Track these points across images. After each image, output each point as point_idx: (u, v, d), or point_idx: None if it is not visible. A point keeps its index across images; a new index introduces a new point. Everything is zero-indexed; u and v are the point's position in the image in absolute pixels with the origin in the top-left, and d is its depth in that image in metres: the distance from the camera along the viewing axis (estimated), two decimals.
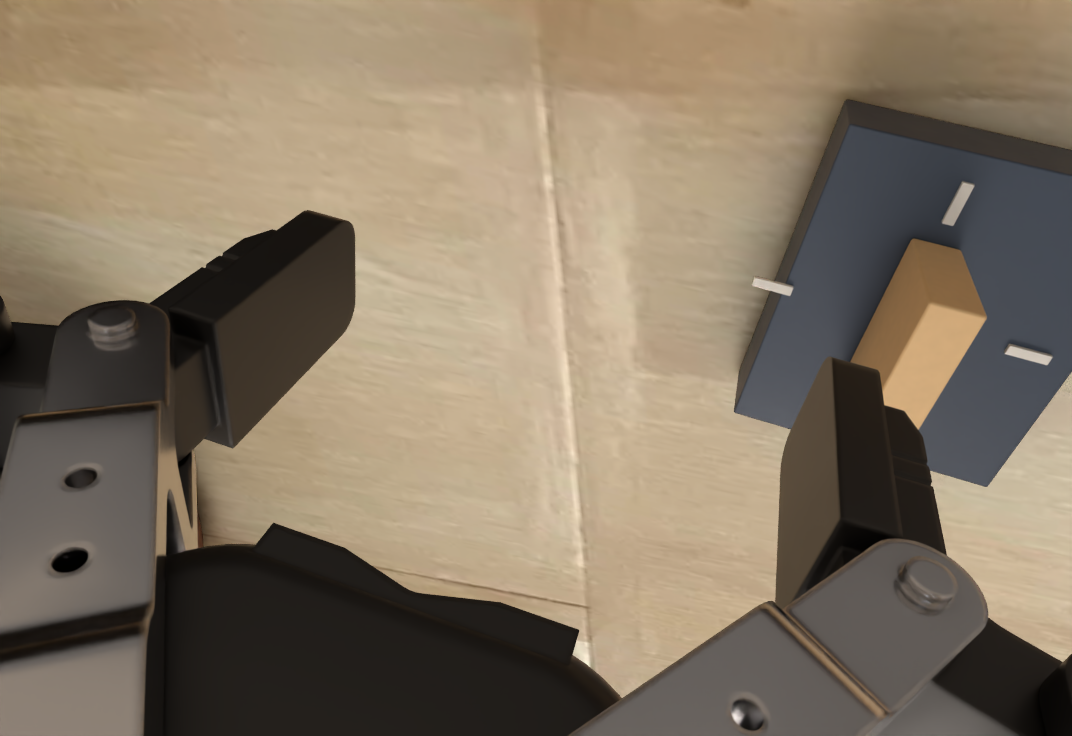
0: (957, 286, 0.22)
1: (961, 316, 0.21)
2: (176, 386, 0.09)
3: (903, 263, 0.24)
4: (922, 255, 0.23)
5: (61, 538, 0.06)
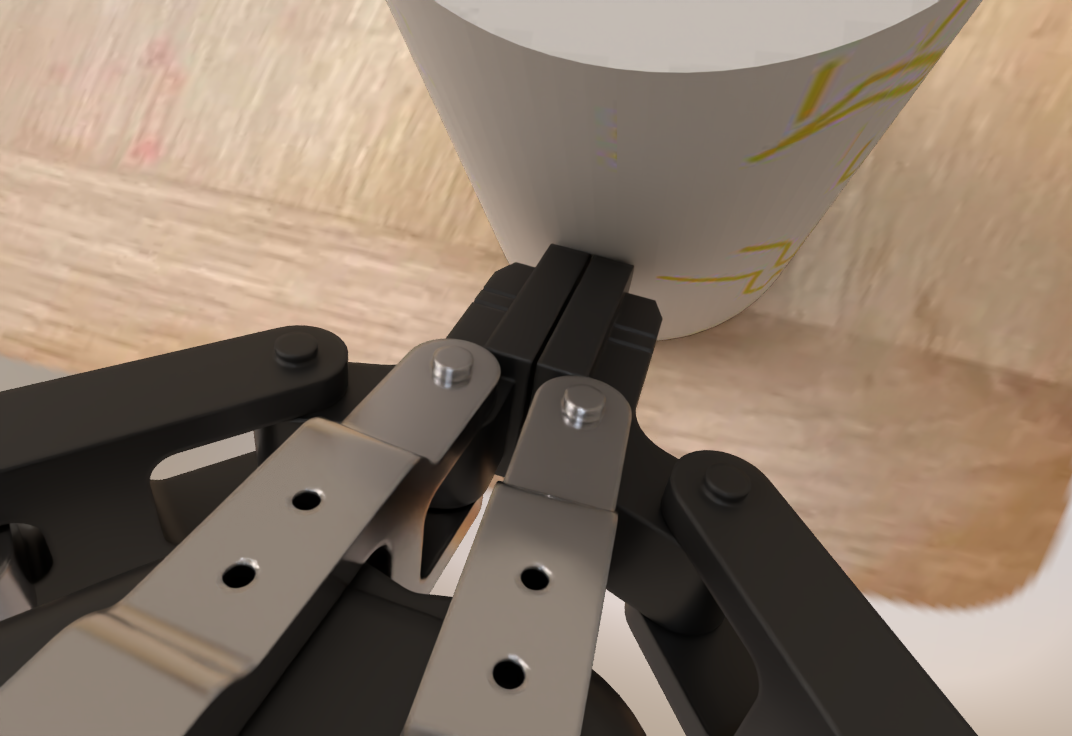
0: None
1: None
2: (496, 423, 0.10)
3: None
4: None
5: (250, 550, 0.06)
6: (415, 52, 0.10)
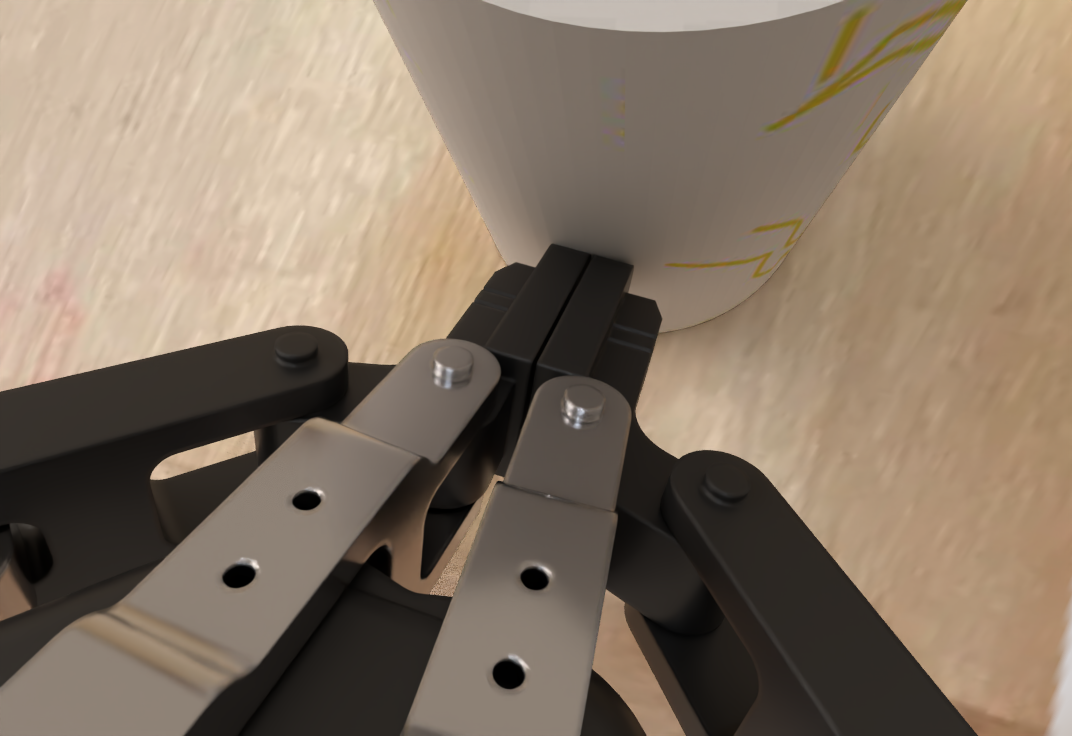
0: None
1: None
2: (497, 424, 0.10)
3: None
4: None
5: (250, 550, 0.06)
6: (399, 36, 0.09)
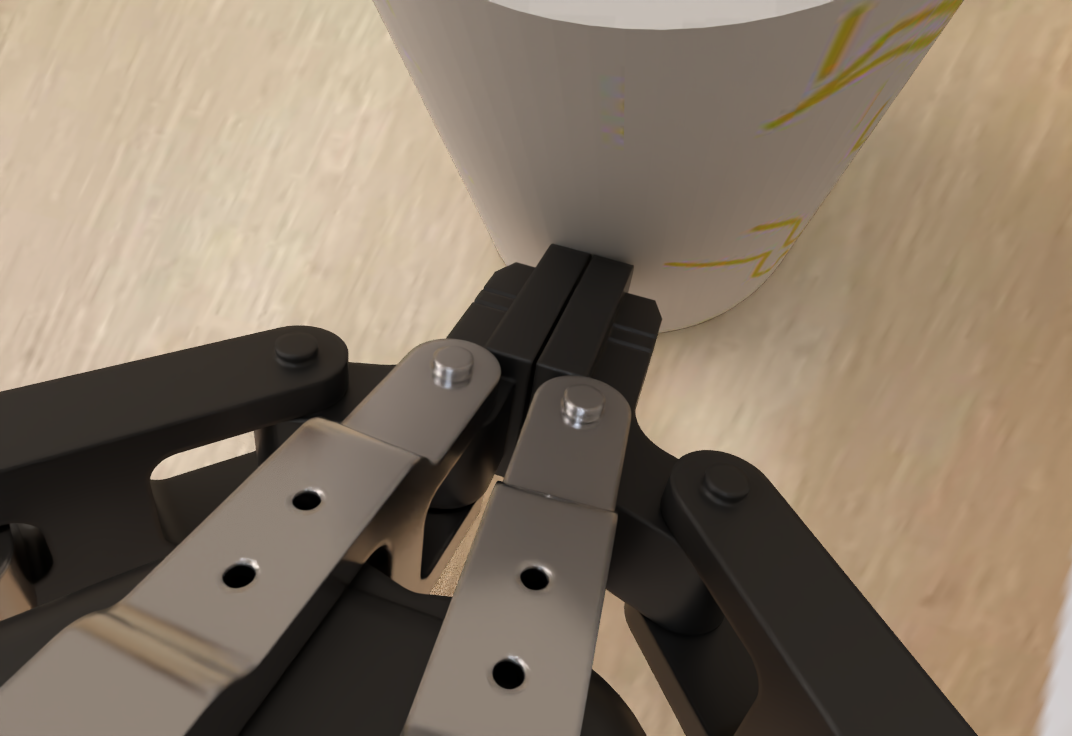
0: None
1: None
2: (497, 423, 0.10)
3: None
4: None
5: (250, 550, 0.06)
6: (399, 36, 0.09)
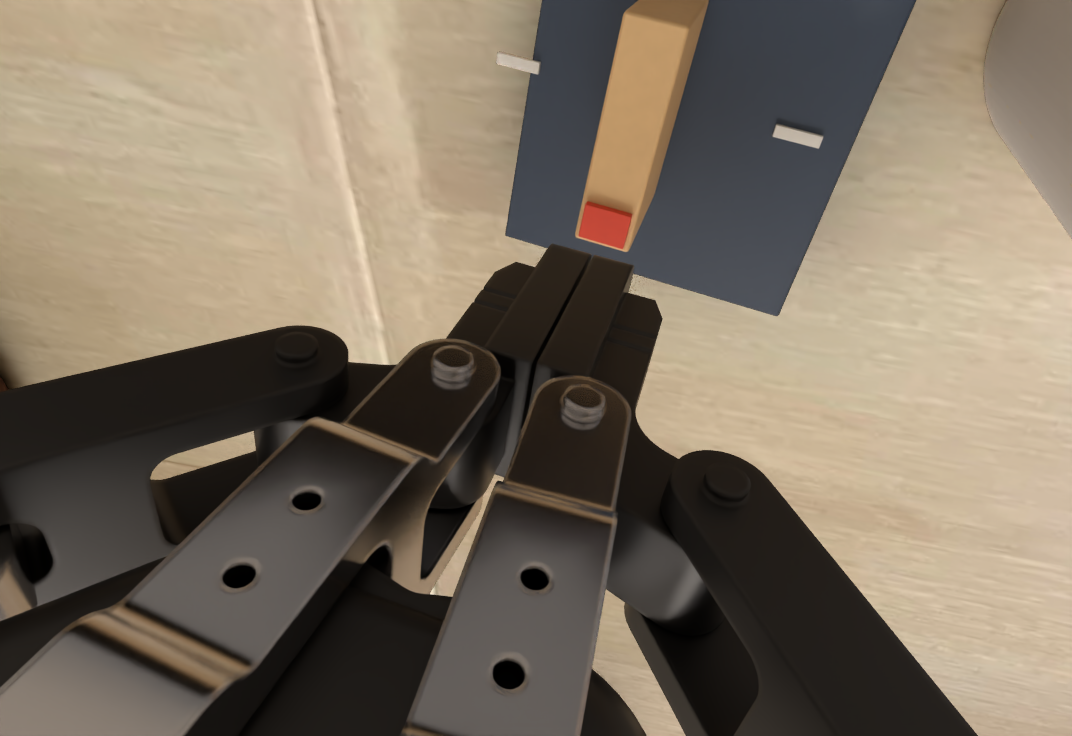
0: (673, 9, 0.18)
1: (660, 28, 0.17)
2: (497, 424, 0.10)
3: None
4: None
5: (250, 549, 0.06)
6: None
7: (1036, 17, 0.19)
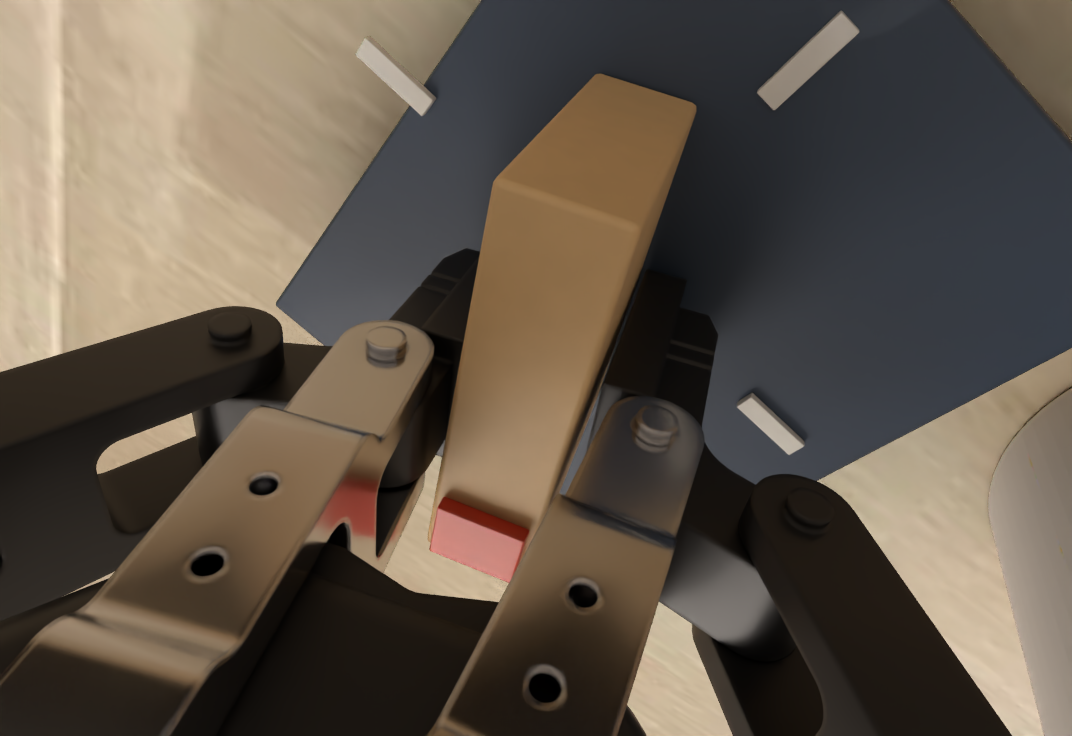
0: (616, 157, 0.09)
1: (574, 222, 0.07)
2: (433, 403, 0.10)
3: None
4: (587, 97, 0.10)
5: (215, 538, 0.06)
6: None
7: None
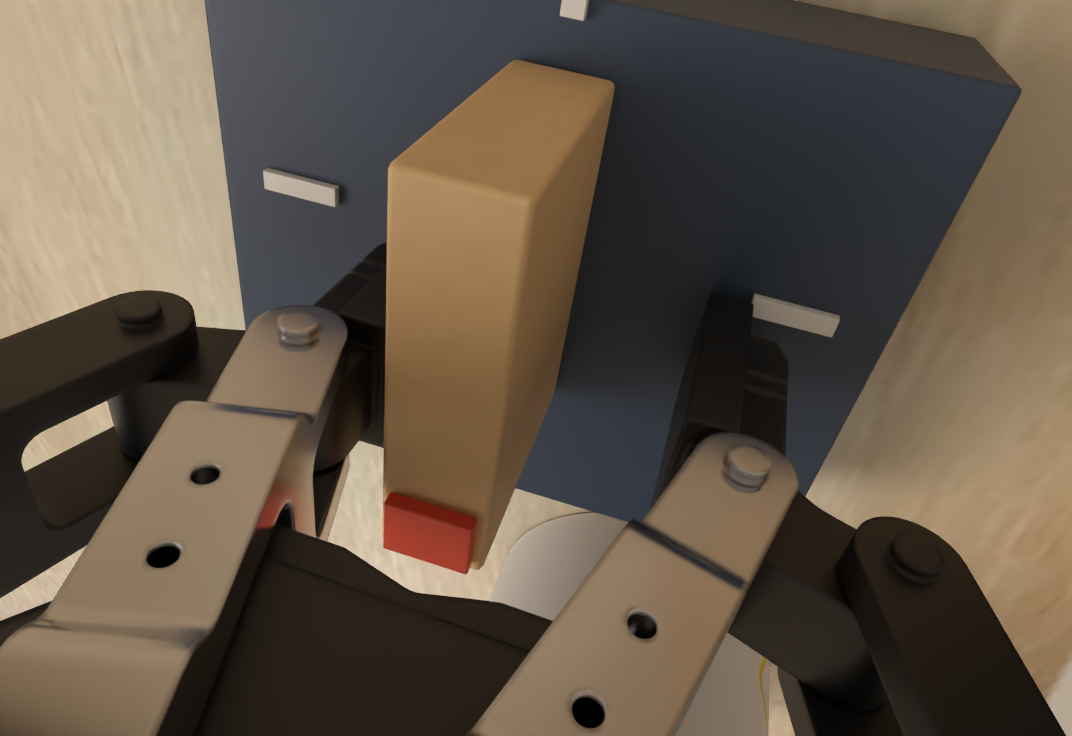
0: (520, 136, 0.09)
1: (470, 202, 0.07)
2: (349, 387, 0.10)
3: None
4: (498, 83, 0.10)
5: (165, 531, 0.06)
6: None
7: None
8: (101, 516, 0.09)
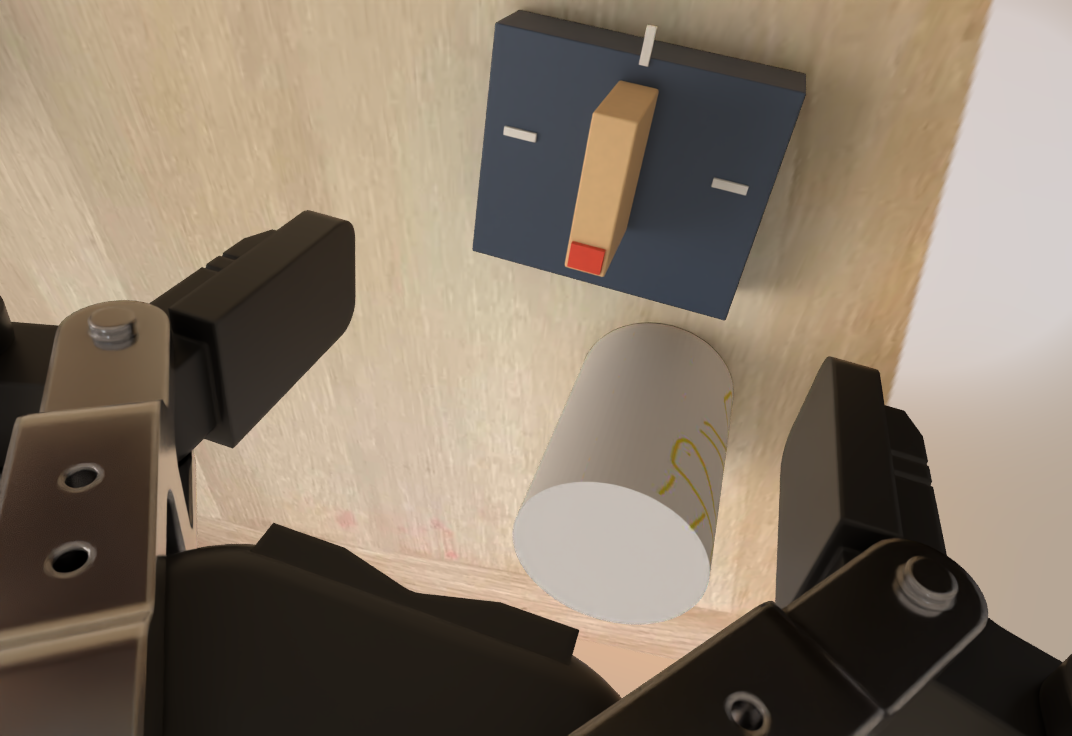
0: (629, 106, 0.26)
1: (618, 123, 0.25)
2: (176, 386, 0.09)
3: None
4: (617, 89, 0.27)
5: (61, 538, 0.06)
6: None
7: (671, 364, 0.34)
8: None
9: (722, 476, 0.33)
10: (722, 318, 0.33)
